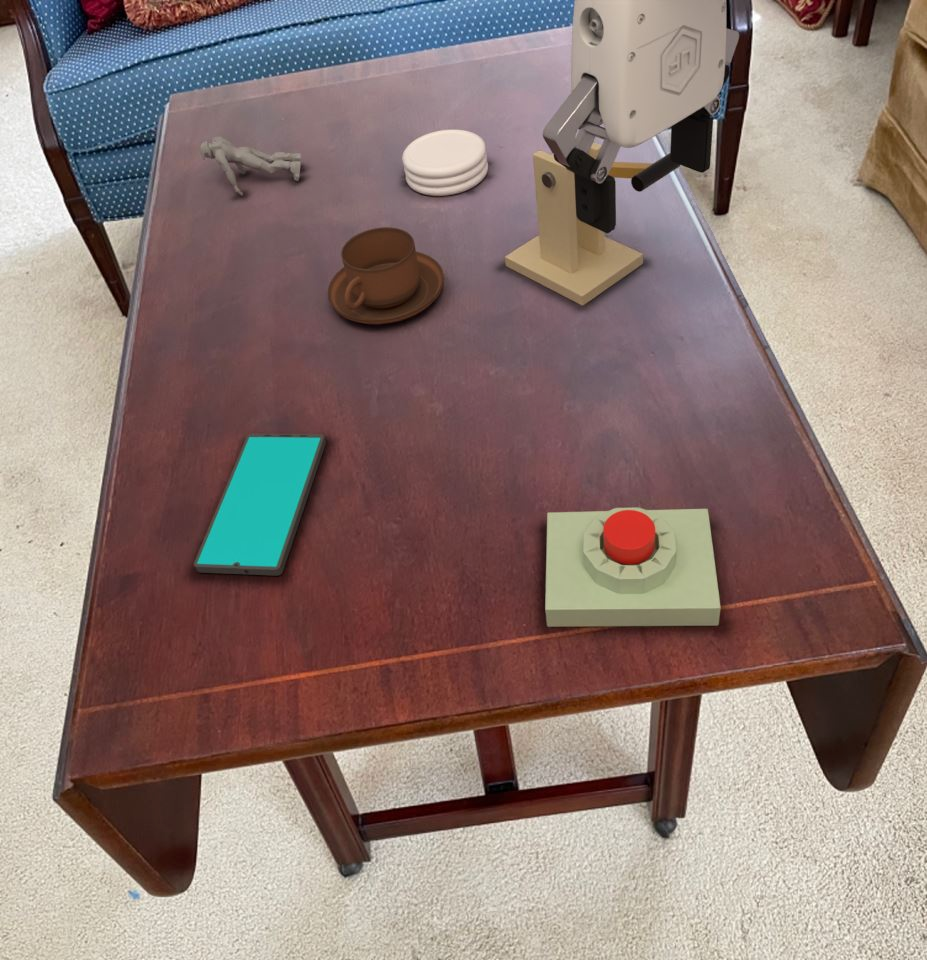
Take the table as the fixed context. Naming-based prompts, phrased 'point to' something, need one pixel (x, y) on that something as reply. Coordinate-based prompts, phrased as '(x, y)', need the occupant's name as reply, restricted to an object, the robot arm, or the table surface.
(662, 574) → the button block
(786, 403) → the table surface
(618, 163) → the lever
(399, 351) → the table surface
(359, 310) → the cup and saucer
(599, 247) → the bracket
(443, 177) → the coaster
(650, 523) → the button
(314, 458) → the smartphone
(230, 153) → the soldier figurine
